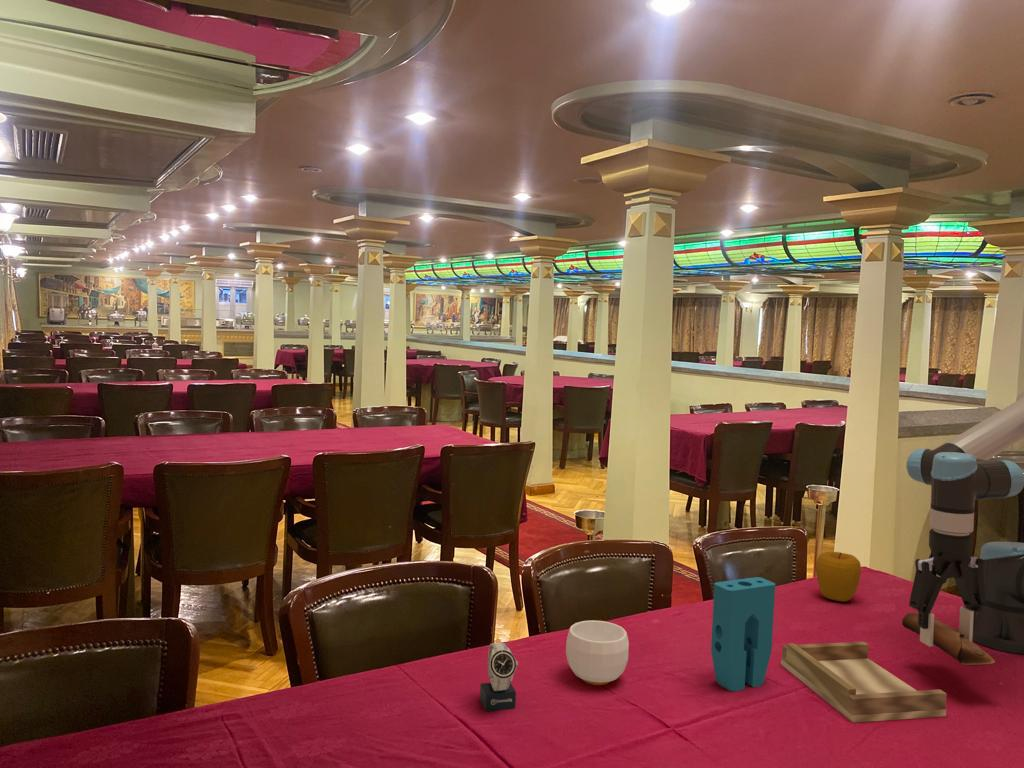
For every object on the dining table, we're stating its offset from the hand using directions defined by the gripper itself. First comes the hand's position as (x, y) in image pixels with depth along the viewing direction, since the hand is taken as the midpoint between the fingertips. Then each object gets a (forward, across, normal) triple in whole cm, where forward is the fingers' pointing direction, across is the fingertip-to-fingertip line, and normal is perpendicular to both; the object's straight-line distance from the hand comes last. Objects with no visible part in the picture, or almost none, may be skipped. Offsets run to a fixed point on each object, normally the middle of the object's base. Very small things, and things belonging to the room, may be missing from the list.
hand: (945, 641), depth 151 cm
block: (+7, +42, -5) cm, 43 cm away
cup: (+7, +70, -10) cm, 71 cm away
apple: (+9, -8, -48) cm, 49 cm away
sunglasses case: (+1, 0, 0) cm, 1 cm away
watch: (+6, +91, -2) cm, 91 cm away
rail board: (+8, +19, 0) cm, 21 cm away
